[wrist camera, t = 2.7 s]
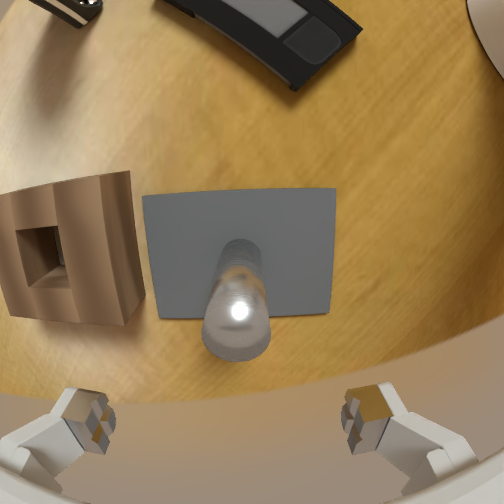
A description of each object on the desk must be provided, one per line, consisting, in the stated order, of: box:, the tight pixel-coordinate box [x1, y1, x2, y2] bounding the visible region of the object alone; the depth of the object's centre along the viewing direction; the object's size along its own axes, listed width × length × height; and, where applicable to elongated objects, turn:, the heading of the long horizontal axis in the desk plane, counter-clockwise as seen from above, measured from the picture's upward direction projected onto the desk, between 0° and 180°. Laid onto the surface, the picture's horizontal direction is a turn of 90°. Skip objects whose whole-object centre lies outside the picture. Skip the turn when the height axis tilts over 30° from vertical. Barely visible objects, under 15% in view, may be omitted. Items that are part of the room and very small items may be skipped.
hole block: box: [0, 171, 145, 326], centre depth 19 cm, size 12×10×5 cm
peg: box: [201, 239, 271, 362], centre depth 17 cm, size 3×3×10 cm
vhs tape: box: [164, 0, 363, 92], centre depth 16 cm, size 8×14×2 cm, turn 48°
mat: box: [142, 188, 336, 318], centre depth 22 cm, size 14×10×1 cm
